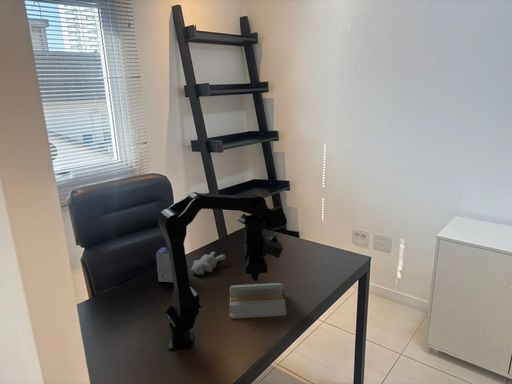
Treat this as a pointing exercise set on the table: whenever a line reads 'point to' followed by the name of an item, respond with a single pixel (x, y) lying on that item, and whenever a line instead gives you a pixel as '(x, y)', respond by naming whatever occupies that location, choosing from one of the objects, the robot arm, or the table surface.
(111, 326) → the table surface
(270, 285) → the duct cover
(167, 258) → the ink cartridge box
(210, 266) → the bunny figurine
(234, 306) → the base
